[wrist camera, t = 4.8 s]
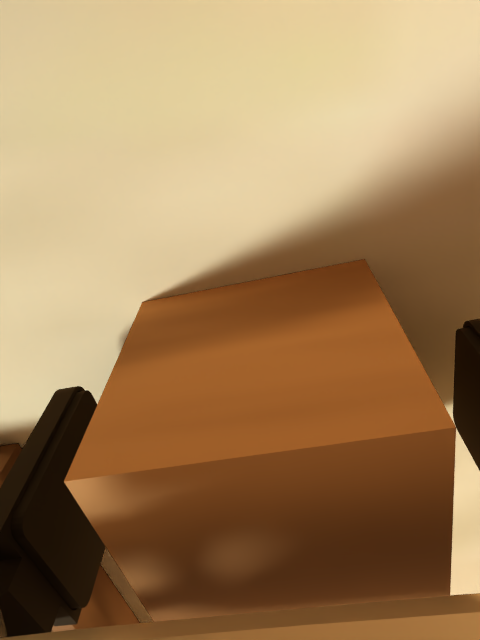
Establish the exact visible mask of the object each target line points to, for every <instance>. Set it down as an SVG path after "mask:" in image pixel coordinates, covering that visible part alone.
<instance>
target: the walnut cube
mask: <svg viewBox="0 0 480 640" xmlns="http://www.w3.org/2000/svg"><path fill="white" fill-rule="evenodd" d="M455 439H456V427H455V425H454V423H453V421H452V419H451V417H450V416H449V414H448V412H447V410H446V408H445V406H444V404H443V403H442V401H441V399H440V397H439V395H438V393H437V392H436V390H435V388H434V386H433V384H432V382H431V381H430V379H429V377H428V375H427V373H426V371H425V369H424V368H423V366H422V364H421V362H420V360H419V358H418V357H417V355H416V353H415V351H414V349H413V347H412V346H411V344H410V342H409V340H408V338H407V336H406V335H405V333H404V331H403V329H402V327H401V325H400V323H399V322H398V320H397V318H396V316H395V314H394V312H393V311H392V309H391V307H390V305H389V303H388V301H387V300H386V298H385V296H384V294H383V292H382V290H381V288H380V287H379V285H378V283H377V281H376V279H375V277H374V276H373V274H372V272H371V270H370V268H369V266H368V265H367V263H366V261H365V259H363V260H358V261H353V262H348V263H342V264H337V265H332V266H327V267H322V268H316V269H311V270H306V271H301V272H296V273H291V274H285V275H280V276H275V277H270V278H265V279H260V280H254V281H249V282H244V283H239V284H234V285H229V286H223V287H218V288H213V289H208V290H203V291H197V292H192V293H187V294H182V295H177V296H172V297H166V298H161V299H156V300H151V301H146V302H142V304H141V307H140V309H139V311H138V313H137V316H136V318H135V320H134V322H133V325H132V327H131V329H130V332H129V334H128V336H127V338H126V341H125V343H124V345H123V348H122V350H121V352H120V354H119V357H118V359H117V361H116V364H115V366H114V368H113V370H112V373H111V375H110V377H109V380H108V382H107V384H106V386H105V389H104V391H103V393H102V396H101V398H100V400H99V402H98V405H97V407H96V409H95V411H94V414H93V416H92V418H91V421H90V423H89V425H88V427H87V430H86V432H85V434H84V437H83V439H82V441H81V443H80V446H79V448H78V450H77V453H76V455H75V457H74V459H73V462H72V464H71V466H70V469H69V471H68V473H67V475H66V478H65V480H64V483H65V484H66V486H67V487H68V489H69V490H70V492H71V494H72V495H73V497H74V498H75V500H76V501H77V503H78V504H79V506H80V508H81V509H82V511H83V512H84V514H85V515H86V517H87V518H88V520H89V522H90V523H91V525H92V526H93V528H94V529H95V531H96V532H97V534H98V536H99V537H100V539H101V540H102V542H103V543H104V545H105V546H106V548H107V549H108V551H109V553H110V554H111V556H112V557H113V559H114V560H115V562H116V563H117V565H118V567H119V568H120V570H121V571H122V573H123V574H124V576H125V577H126V579H127V581H128V582H129V584H130V585H131V587H132V588H133V590H134V591H135V593H136V595H137V596H138V598H139V599H140V601H141V602H142V604H143V605H144V607H145V609H146V610H147V612H148V613H149V615H150V616H151V618H152V619H153V621H154V622H158V621H168V620H179V619H189V618H200V617H211V616H222V615H233V614H244V613H255V612H266V611H277V610H289V609H300V608H311V607H322V606H334V605H345V604H357V603H369V602H381V601H392V600H404V599H416V598H428V597H440V596H450V582H451V553H452V525H453V496H454V467H455Z"/></svg>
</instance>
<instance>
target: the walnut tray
mask: <svg viewBox="0 0 480 640" xmlns="http://www.w3.org/2000/svg"><path fill="white" fill-rule="evenodd" d="M21 451H22V448H21V447H20V445H19V444H18V443H16V444H10V445H3V446H0V487H1V485H2V484H3V482H4V480H5V478H6V477H7V475H8V473H9V471H10V470H11V468H12V466H13V464H14V463H15V461H16V459H17V458H18V456H19V454H20V452H21ZM137 623H139V621H138V620H137V618H136V617H135V615H134V614H133V612H132V611H131V609H130V608H129V606H128V605H127V603H126V602H125V601H124V599H123V598H122V596H121V595H120V593H119V592H118V590H117V589H116V587H115V586H114V584H113V583H112V581H111V580H110V578H109V577H108V575H107V574H106V572H105V571H104V569H103V568H102V567H101V565H100V567H99V570H98V574H97V577H96V581H95V584H94V587H93V591H92V594H91V598H90V600H89V603H88V604H87V606H86V607H85V608H82V610H81V613H80V616H79V620H78V623H77V624H76V625H65V626H54V625H53V628H52V631H51V632H57V631H65V630H74V629H85V628H95V627H106V626H116V625H127V624H137Z"/></svg>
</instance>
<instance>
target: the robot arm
mask: <svg viewBox="0 0 480 640" xmlns="http://www.w3.org/2000/svg"><path fill="white" fill-rule="evenodd" d="M96 407H97V403H96V401H95V399H94V398H93V396H92V394H91V392H89V391H85V390H84V389H83V388H82V387H80V386H77V387H71V388H65V389H59V390H57V391H56V392H55V393H54V395H53V397H52V398H51V400H50V402H49V404H48V405H47V407H46V409H45V411H44V412H43V414H42V416H41V418H40V419H39V421H38V423H37V424H36V426H35V428H34V430H33V431H32V433H31V435H30V437H29V438H28V440H27V442H26V444H25V445H24V447H23V449H22V451H21V452H20V454H19V456H18V458H17V459H16V461H15V463H14V464H13V466H12V468H11V470H10V471H9V473H8V475H7V477H6V478H5V480H4V482H3V484H2V485H1V487H0V640H480V593H478V594H463V595H451V596H440V597H428V598H416V599H404V600H392V601H381V602H369V603H357V604H345V605H334V606H322V607H311V608H300V609H289V610H277V611H266V612H255V613H244V614H233V615H222V616H211V617H200V618H189V619H179V620H168V621H158V622H147V623H137V624H127V625H116V626H106V627H95V628H85V629H74V630H65V631H57V632H51V631H52V628H53V625H54V626H65V625H76V624H77V623H78V620H79V616H80V613H81V610H82V608H85V607H86V606H87V604H88V603H89V600H90V598H91V594H92V591H93V587H94V584H95V581H96V577H97V574H98V570H99V567H100V564H101V560H102V557H103V553H104V550H105V547H106V546H105V545H104V543H103V542H102V540H101V539H100V537H99V536H98V534H97V532H96V531H95V529H94V528H93V526H92V525H91V523H90V522H89V520H88V518H87V517H86V515H85V514H84V512H83V511H82V509H81V508H80V506H79V504H78V503H77V501H76V500H75V498H74V497H73V495H72V494H71V492H70V490H69V489H68V487H67V486H66V484H65V483H64V480H65V478H66V475H67V473H68V471H69V469H70V466H71V464H72V462H73V459H74V457H75V455H76V453H77V450H78V448H79V446H80V443H81V441H82V439H83V437H84V434H85V432H86V430H87V427H88V425H89V423H90V421H91V418H92V416H93V414H94V411H95V409H96ZM453 418H454V422H455V425H456V428H457V430H458V432H459V434H460V435H461V437H462V439H463V441H464V443H465V445H466V446H467V448H468V450H469V452H470V454H471V456H472V457H473V459H474V461H475V463H476V465H477V467H478V468H479V470H480V319H476V320H470V321H466V322H465V323H464V325H463V328H460V329H457V331H456V341H455V370H454V400H453Z"/></svg>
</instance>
